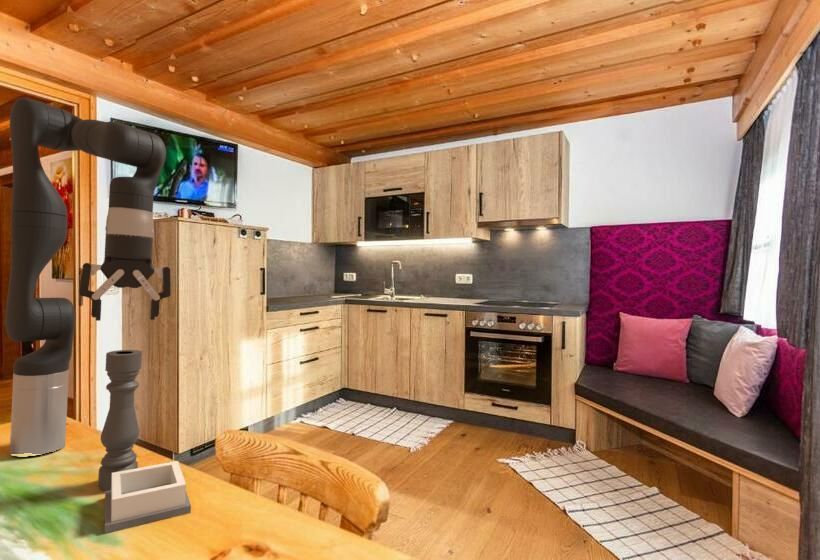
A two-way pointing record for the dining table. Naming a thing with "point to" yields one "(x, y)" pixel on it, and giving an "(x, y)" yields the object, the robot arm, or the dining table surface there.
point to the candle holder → (120, 415)
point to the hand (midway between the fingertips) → (125, 319)
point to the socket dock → (145, 496)
